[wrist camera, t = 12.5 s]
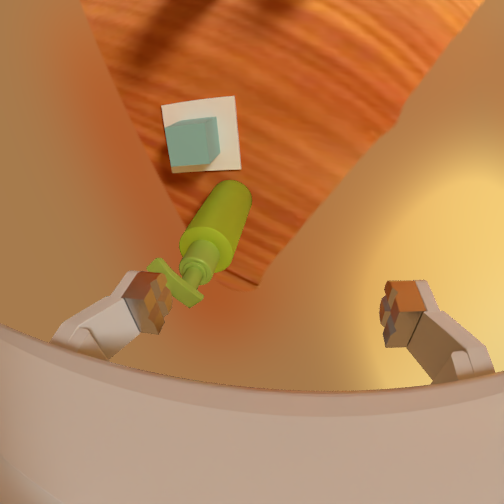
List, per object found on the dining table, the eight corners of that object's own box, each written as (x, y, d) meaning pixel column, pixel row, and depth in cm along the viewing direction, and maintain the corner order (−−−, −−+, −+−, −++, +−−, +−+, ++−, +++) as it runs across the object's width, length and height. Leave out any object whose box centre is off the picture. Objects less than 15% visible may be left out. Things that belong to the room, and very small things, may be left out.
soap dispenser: (226, 166, 38) (167, 248, 22) (260, 201, 40) (230, 303, 24) (198, 192, 41) (133, 281, 24) (231, 224, 43) (189, 327, 27)
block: (180, 120, 34) (164, 127, 30) (216, 116, 34) (204, 122, 30) (185, 155, 37) (171, 166, 33) (220, 152, 36) (209, 163, 32)
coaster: (162, 105, 34) (161, 105, 33) (234, 95, 32) (234, 96, 32) (173, 172, 39) (172, 173, 39) (241, 168, 38) (240, 169, 37)
